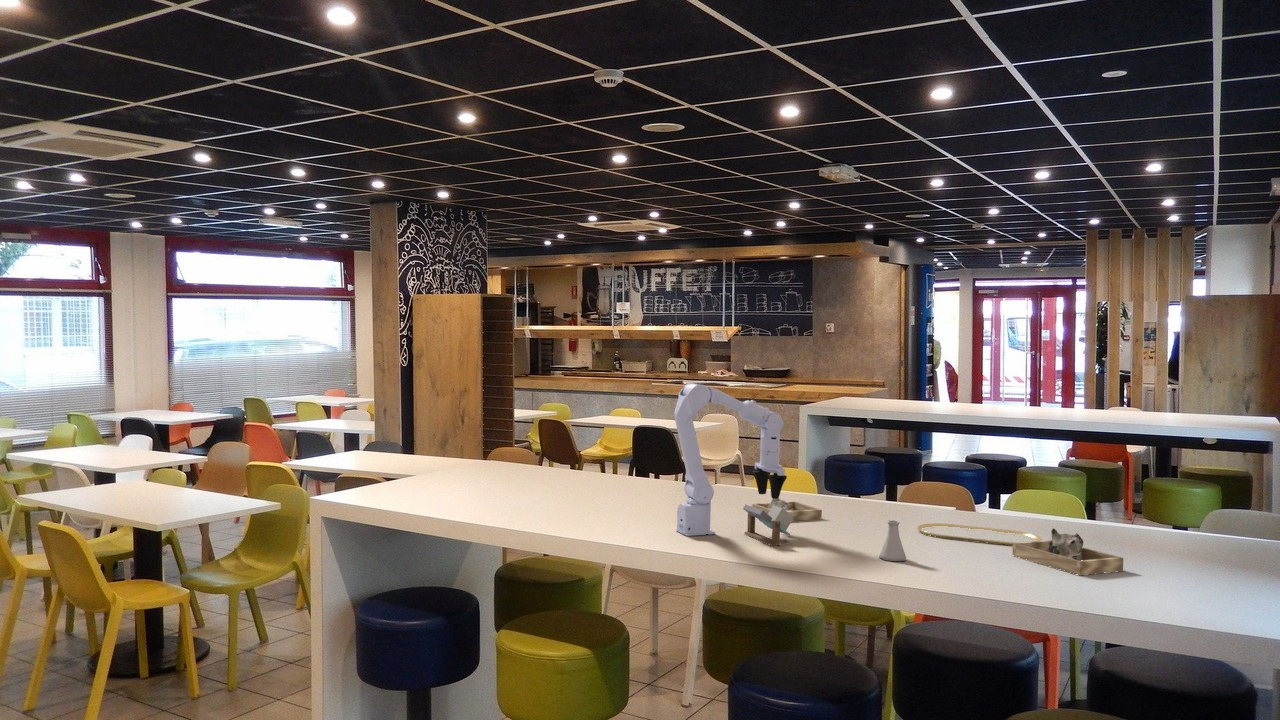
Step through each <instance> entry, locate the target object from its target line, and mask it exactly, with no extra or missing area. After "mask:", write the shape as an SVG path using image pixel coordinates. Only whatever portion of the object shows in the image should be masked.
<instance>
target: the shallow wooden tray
mask: <svg viewBox="0 0 1280 720" xmlns="http://www.w3.org/2000/svg"><path fill="white" fill-rule="evenodd" d="M1050 541H1053V540H1052V539H1049V540H1048V539H1046V540H1042V541H1034V540H1032V541H1022V542H1016V543H1013V546H1012V555H1014V556H1013V557H1015V556H1017V557H1016V558H1018V557H1020V558H1019V559H1021V558H1023V559H1022V560H1025V559H1027V560H1026V561H1028V560H1029V562H1031V561H1033V562H1032V563H1035V562H1036V563H1035V564H1038V563H1039V564H1038V565H1041V564H1043V565H1042V566H1045V565H1047V566H1046V567H1048V566H1051V567H1054V568H1053V569H1055V568H1057V569H1056V570H1058V569H1061V570H1060V571H1062V570H1065V571H1068V572H1071V573H1070V574H1072V573H1074V574H1073V575H1075V574H1078V575H1084V576H1087V575H1086V574H1094V575H1096V574H1095V573H1103V574H1105V573H1104V572H1113V573H1115V572H1114V571H1123V572H1124V557H1122V556H1118V555H1113V554H1109V553H1106V552H1102V551H1098V550H1096V549H1092V548H1087V547H1082V555H1081V560H1083V561H1079V560H1075V559H1072V558H1068V557H1065V556H1061V555H1057V554H1054V553H1050V552H1049V543H1050ZM1078 554H1079V553H1078ZM1012 555H1011V556H1012ZM1051 567H1050V568H1051ZM1065 571H1064V572H1065ZM1068 572H1067V573H1068ZM1078 575H1077V576H1078Z"/></svg>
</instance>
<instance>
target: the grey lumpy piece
mask: <svg viewBox="0 0 1280 720" xmlns="http://www.w3.org/2000/svg"><path fill="white" fill-rule="evenodd" d="M1050 533H1051V535H1050V536H1051V540H1053V541H1050V543H1049V552H1050V553H1054V554H1057V555H1061V556H1065V557H1068V558H1072V559H1075V560H1079V561H1081V555H1082V547H1083V546H1084V540H1083V538H1082V537H1081V535H1079V533H1077V532H1076V533H1075V534H1068V533H1059V532H1058V531H1057V530H1056V529H1055V528H1051V531H1050ZM1078 553H1079V554H1078Z"/></svg>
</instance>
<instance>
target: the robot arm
mask: <svg viewBox="0 0 1280 720" xmlns="http://www.w3.org/2000/svg"><path fill="white" fill-rule="evenodd" d="M708 403H709V404H714V403H716V404H720V405H722V406H723V407H726V408H729V409H730V410H734V411H735V412H737V414H738V416H739V418H740V419H741V420H742V419H743V420H745V421H747V422H749V423H750V424H751V423H752V424H754V425H756V426H758V428H760V446H759V447H760V452H759V453H760V455H759V457H760V458H759V462H754V469H755V470H752V471H751V472H752V475H753V476H754V480H755V482H756V487H757V492H758V494H759V495H767V492H768V491H767V489H768V483H769V485H770V486H769V487H770V497H771V499H776V498H780V494H781V492H782V489H783V485H784V483H785V481H786V480H787V479H788V476H787V475H786V472H785V471H786V470H785V468H783V465H781V464H780V447H781V446H780V441H781V437H780V435H781V431H782V429H783V426H784V424H785V422H784V420H783V418H782V416H781V414H780V413H778V412H775V411H774V412H773V411H771V410H770V407H767V406H765V407H763V406H761V405H759V404H757V401H755V400H754V399H751V400H745V401H741V400H739V399H737V398H736V397H733V396H731V395H729V394H727V393H725V392H723V391H721V390H719V389H718V388H717V389H716V388H713V387H710V386H706V385H704V384H696V383H692V382H690V383H686V384H685V385H684V386H683V387H682V388H681V390H680V391H679V392H678V397H677V402H676V405H675V409H674V413H673V417H674V421H675V426H676V430H677V431H676V432H677V436H678V441H679V444H680V449H681V453H682V459H683V463H684V467H685V475H684V480H685V484H684V492H685V495H686V496H687V499H686V501H685V503H680V504H678V507H677V513H676V514H677V515H676V518H677V519H676V521H677V522H676V529H675V531H676V532H678V533H680V534H682V535H685V536H686V537H688V536H689V537H693V536H704V535H706V534H708V535H716V531H713V530H711V511H712V510H711V508H712V504H711V503H712V499H713V497H714V495H715V492H714V487H713V486H712V485H711V483H710V481H709V479H708V475H707V474H706V472H705V470H704V466H703V463H702V456H701V452H700V447H699V443H698V438H697V433H696V430H695V425H694V424H695V423H694V420H693V418H694V417H695V416H696V414H697V413H698V411H699V410H701V409H702V408H704V407H705V406H706V405H707V404H708ZM706 536H707V535H706Z"/></svg>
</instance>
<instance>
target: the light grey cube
mask: <svg viewBox="0 0 1280 720" xmlns="http://www.w3.org/2000/svg"><path fill="white" fill-rule="evenodd" d="M768 515H769V516H770V517H772V521H773V520H778V521H780V526H781V527H782V528H783V529H784V530H786V531H787V530H788V528H789V526H790V524H791V523H792V522H793V521H792V520H793V519H794V517H792V516H791V515H790V514H789V513H787V512H786V511H785V510H784V509H783V508H780V507H777V506H774V505H773V506H772V508H771V509H770V511H769V512H768Z"/></svg>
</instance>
